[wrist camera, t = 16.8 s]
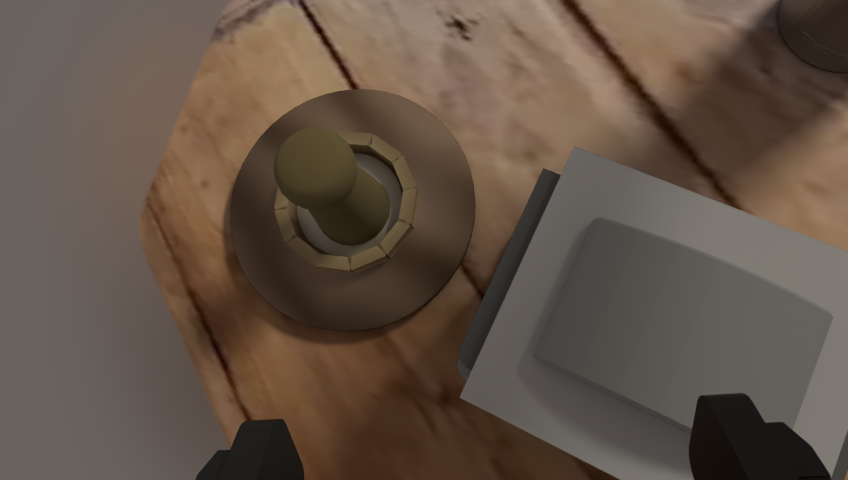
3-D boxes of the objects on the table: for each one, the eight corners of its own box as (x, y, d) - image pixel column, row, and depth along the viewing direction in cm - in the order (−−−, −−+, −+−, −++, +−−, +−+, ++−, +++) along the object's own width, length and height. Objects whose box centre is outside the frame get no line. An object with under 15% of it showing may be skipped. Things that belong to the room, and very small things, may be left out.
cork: (361, 260, 42) (317, 226, 32) (301, 220, 44) (239, 175, 33) (404, 196, 43) (375, 142, 32) (344, 159, 44) (296, 95, 34)
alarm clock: (452, 372, 41) (419, 381, 23) (523, 218, 43) (544, 116, 25) (695, 495, 37) (877, 615, 20) (762, 319, 39) (984, 283, 21)
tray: (338, 55, 48) (329, 37, 45) (525, 181, 43) (527, 170, 41) (190, 233, 46) (172, 225, 44) (369, 385, 42) (360, 386, 39)
